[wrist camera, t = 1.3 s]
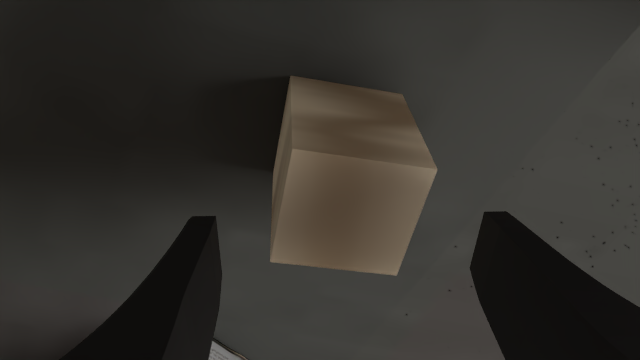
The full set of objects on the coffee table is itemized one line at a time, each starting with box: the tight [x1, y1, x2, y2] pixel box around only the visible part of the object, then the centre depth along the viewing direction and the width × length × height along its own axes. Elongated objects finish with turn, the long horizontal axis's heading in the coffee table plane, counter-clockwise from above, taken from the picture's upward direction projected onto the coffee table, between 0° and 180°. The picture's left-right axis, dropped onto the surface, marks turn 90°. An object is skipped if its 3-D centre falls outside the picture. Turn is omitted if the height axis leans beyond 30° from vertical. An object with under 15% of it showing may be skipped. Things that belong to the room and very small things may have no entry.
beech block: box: [270, 75, 437, 275], centre depth 17 cm, size 4×4×5 cm
